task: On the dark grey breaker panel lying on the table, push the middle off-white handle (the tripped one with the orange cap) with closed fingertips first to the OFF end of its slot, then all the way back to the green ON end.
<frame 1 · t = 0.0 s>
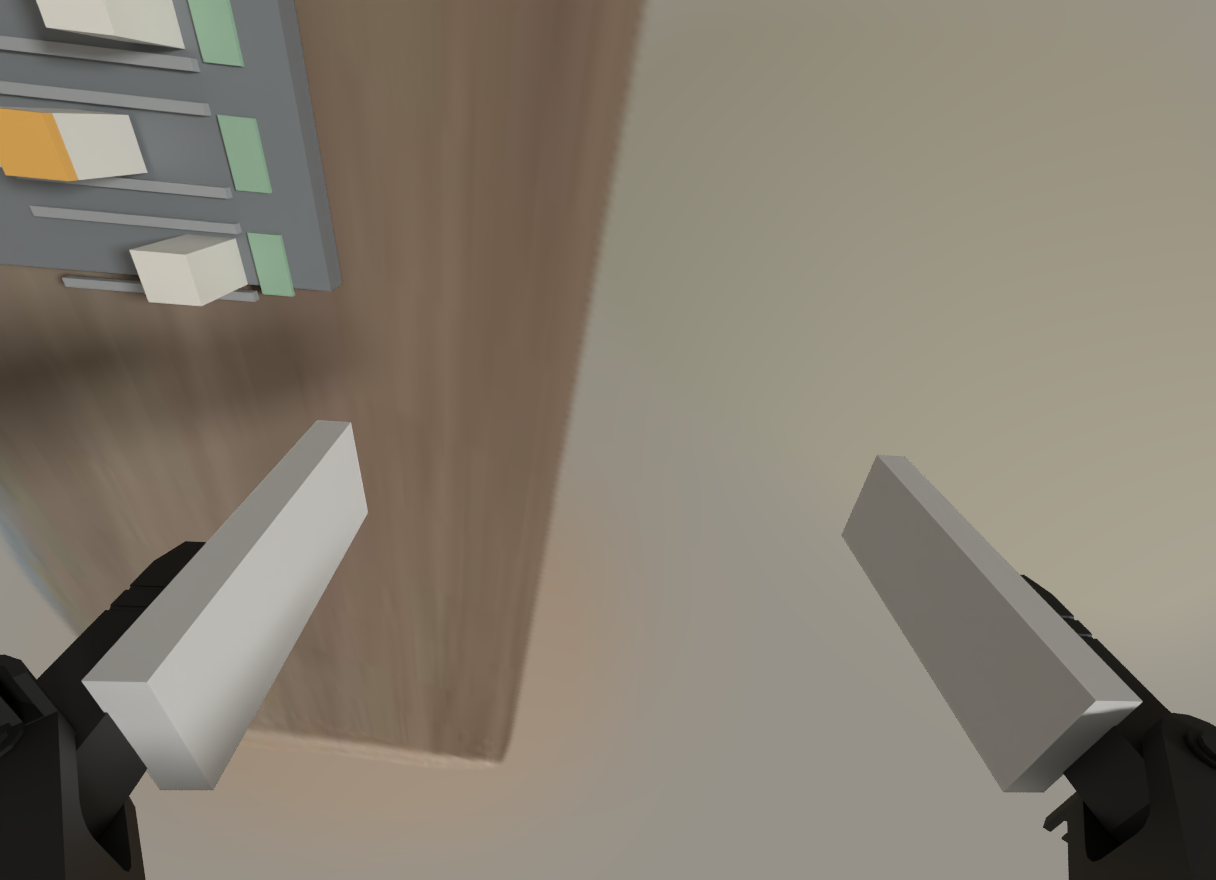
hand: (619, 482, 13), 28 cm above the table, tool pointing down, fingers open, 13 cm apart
breaker handle: (70, 143, 28), point 5 cm above the table, slide at 4.0 cm
panel: (139, 140, 32), on the table
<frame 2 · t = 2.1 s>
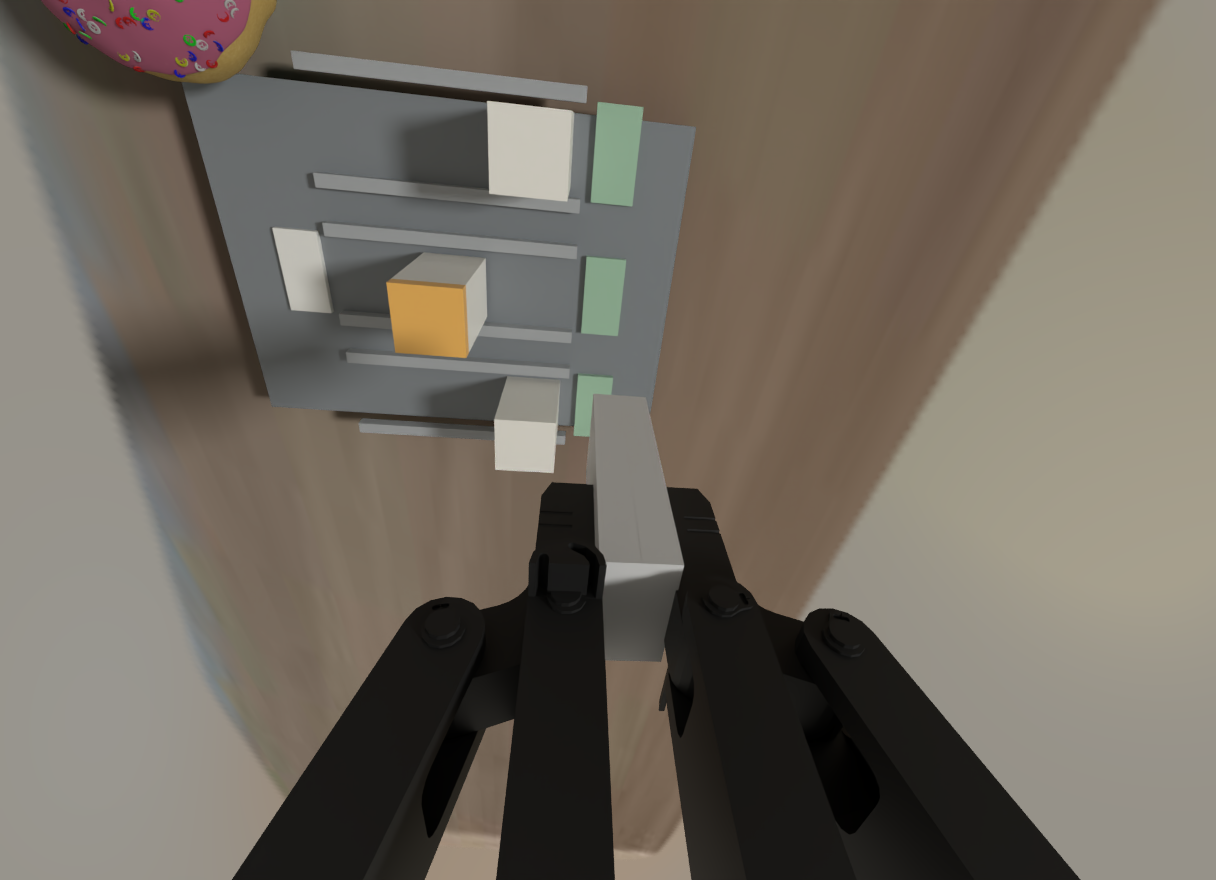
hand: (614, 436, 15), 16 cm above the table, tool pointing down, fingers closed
breaker handle: (443, 301, 24), point 5 cm above the table, slide at 4.0 cm
panel: (465, 274, 28), on the table
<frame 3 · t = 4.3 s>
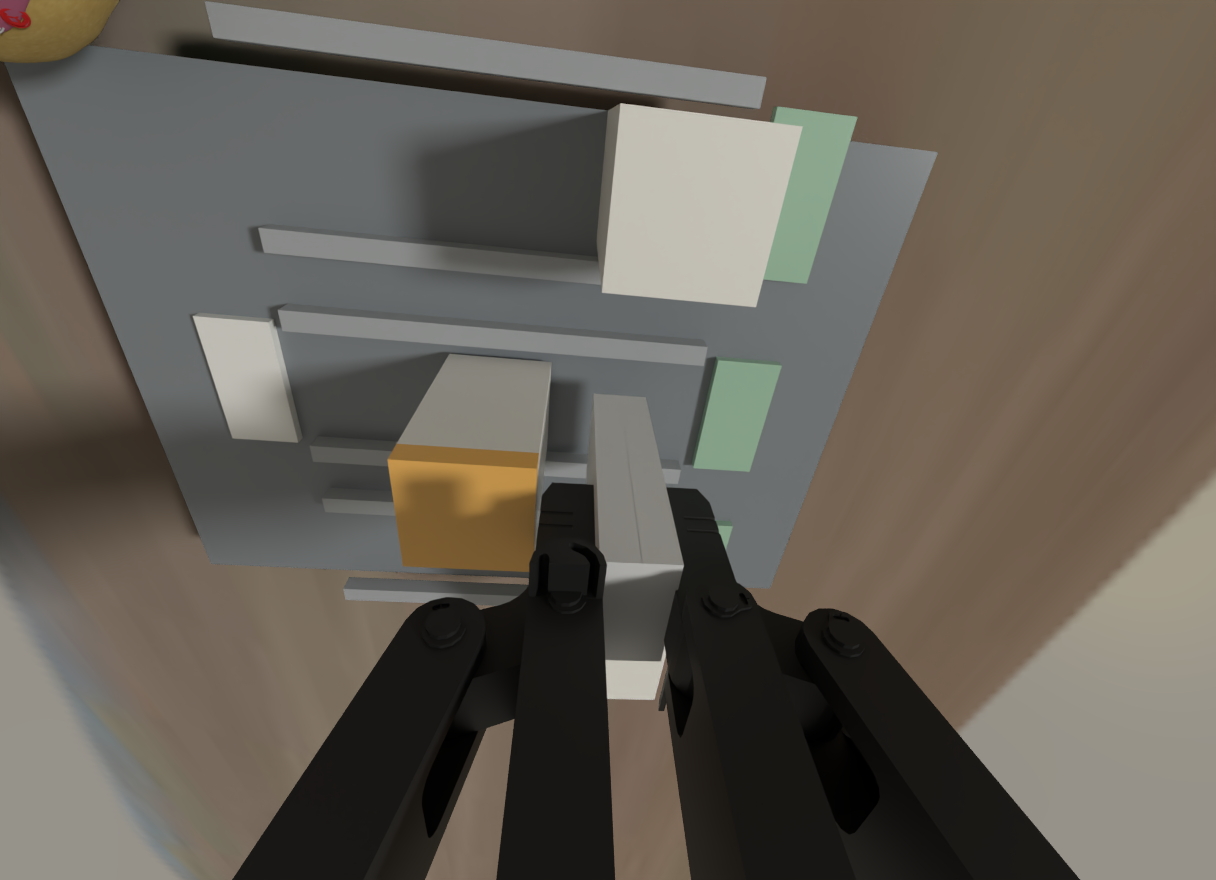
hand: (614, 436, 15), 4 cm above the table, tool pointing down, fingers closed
breaker handle: (486, 451, 14), point 5 cm above the table, slide at 4.0 cm, touching gripper
panel: (511, 372, 18), on the table
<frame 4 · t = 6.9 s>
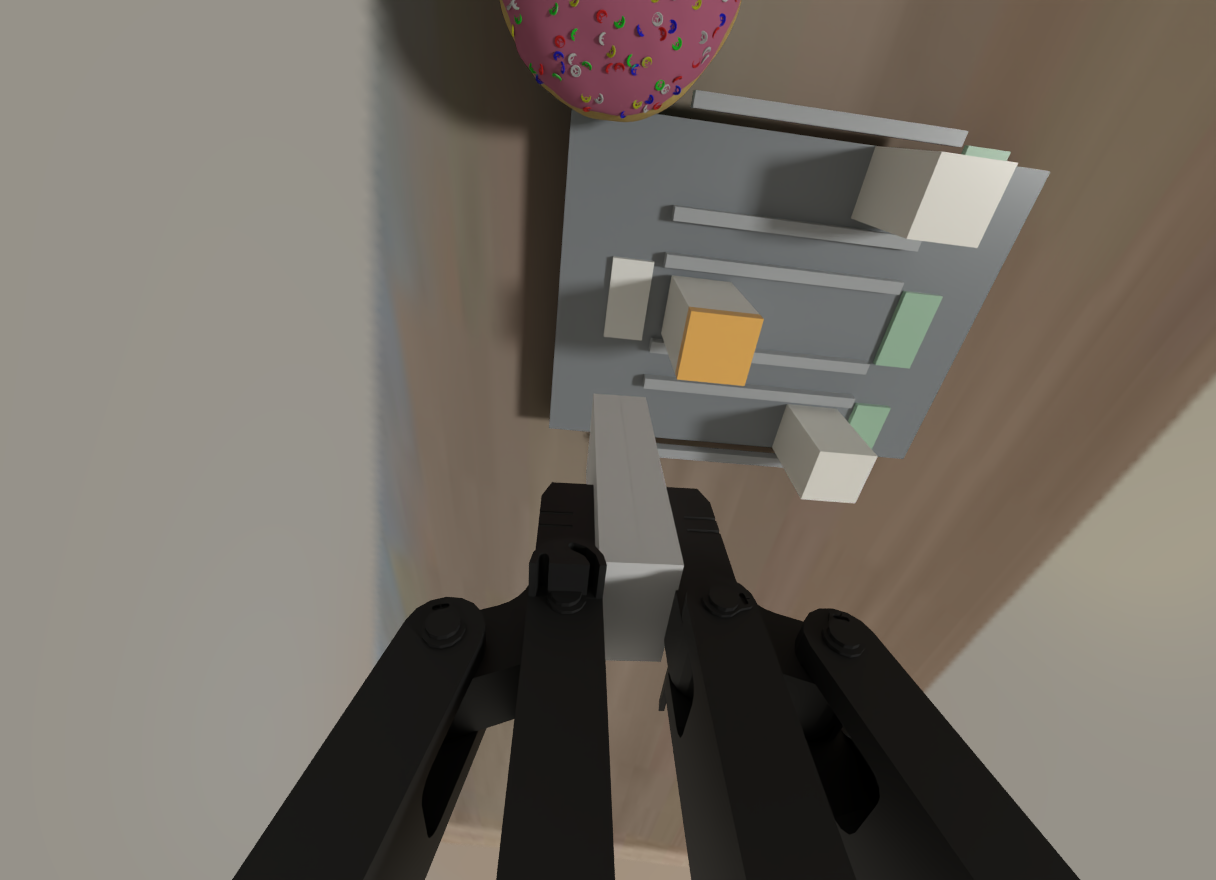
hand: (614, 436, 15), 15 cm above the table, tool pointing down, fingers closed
breaker handle: (705, 327, 24), point 5 cm above the table, slide at 0.0 cm
cupcake: (614, 0, 21), on the table
panel: (759, 303, 28), on the table
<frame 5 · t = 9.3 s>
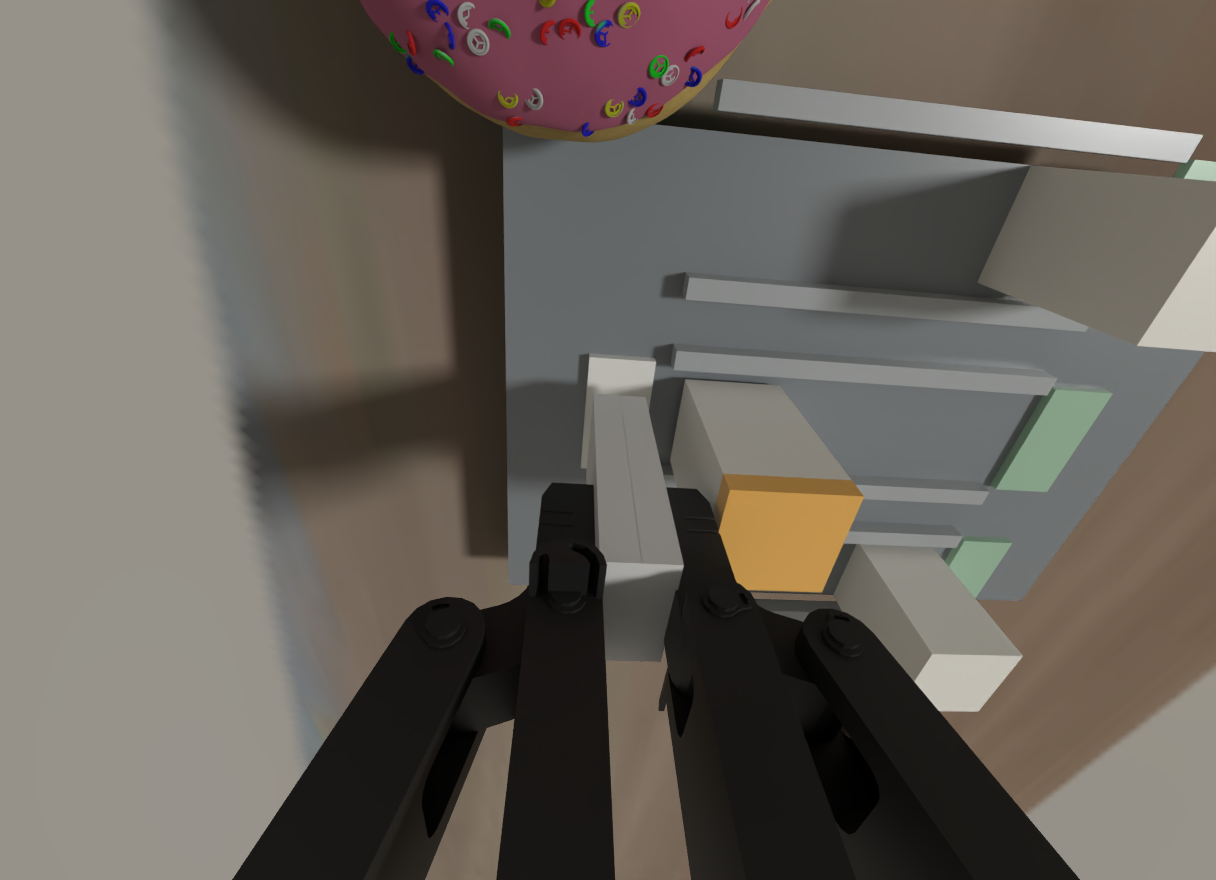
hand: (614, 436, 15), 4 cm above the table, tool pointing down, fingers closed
breaker handle: (746, 474, 14), point 5 cm above the table, slide at 0.0 cm, touching gripper
panel: (814, 399, 19), on the table
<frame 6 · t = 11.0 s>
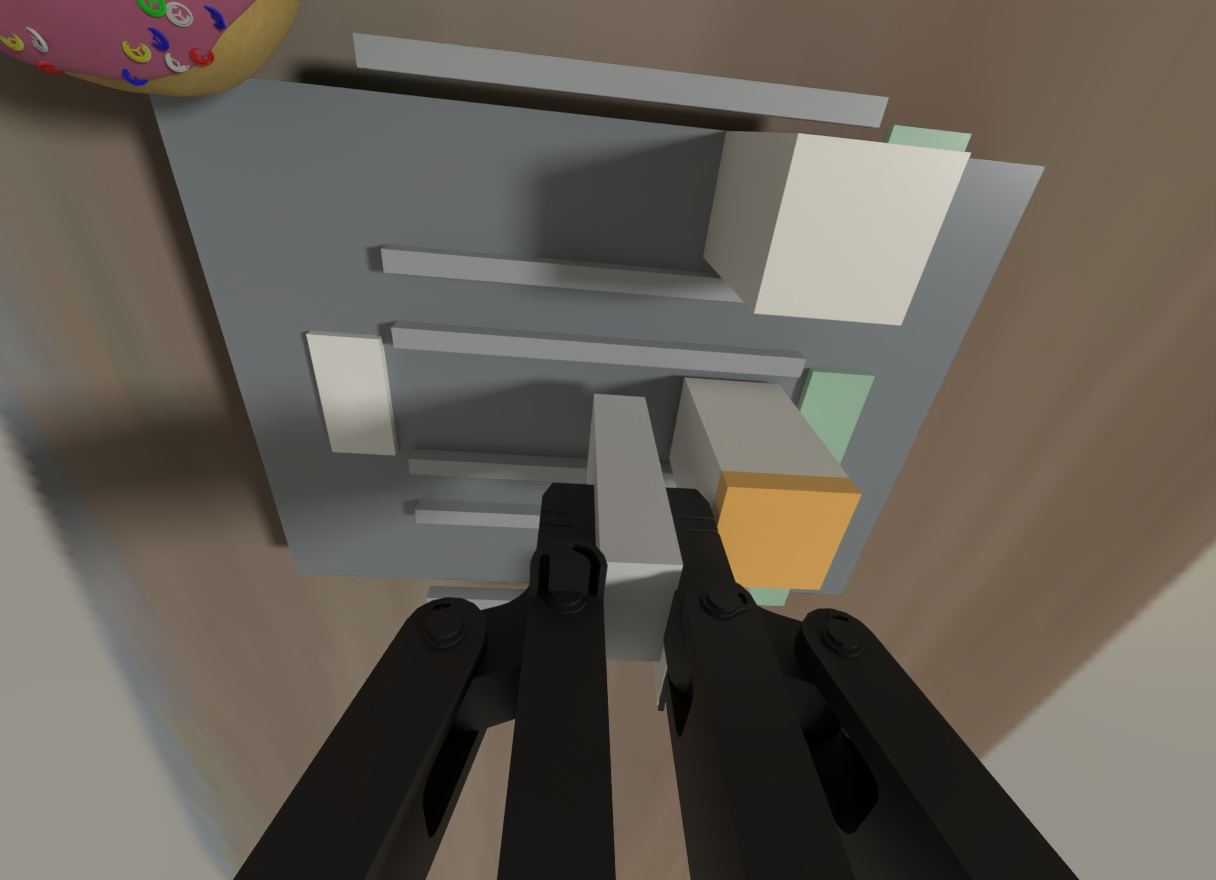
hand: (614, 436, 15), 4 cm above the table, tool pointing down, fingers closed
breaker handle: (744, 472, 14), point 5 cm above the table, slide at 8.0 cm, touching gripper
panel: (596, 383, 18), on the table
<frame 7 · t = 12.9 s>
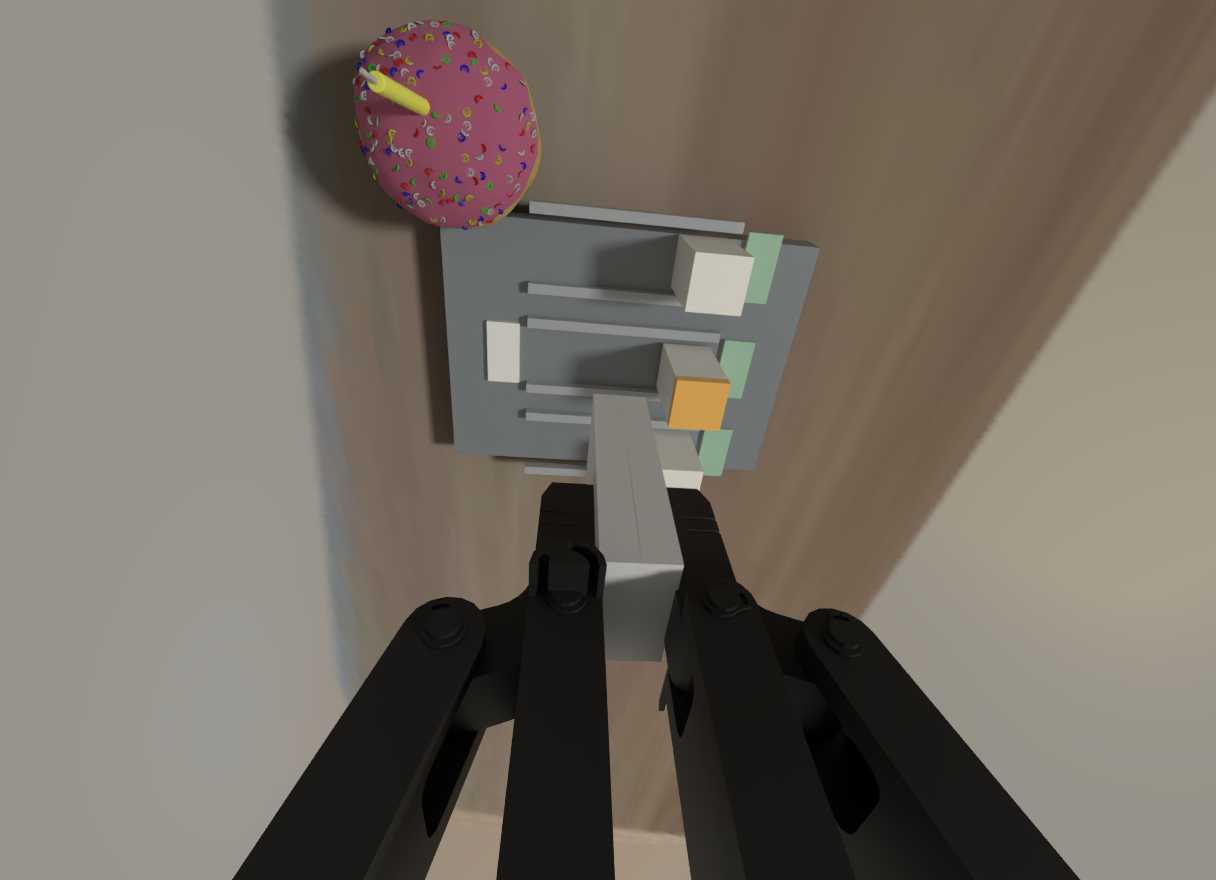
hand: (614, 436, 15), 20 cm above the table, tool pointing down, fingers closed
breaker handle: (689, 385, 31), point 5 cm above the table, slide at 8.0 cm
cupcake: (469, 132, 28), on the table
panel: (618, 348, 35), on the table
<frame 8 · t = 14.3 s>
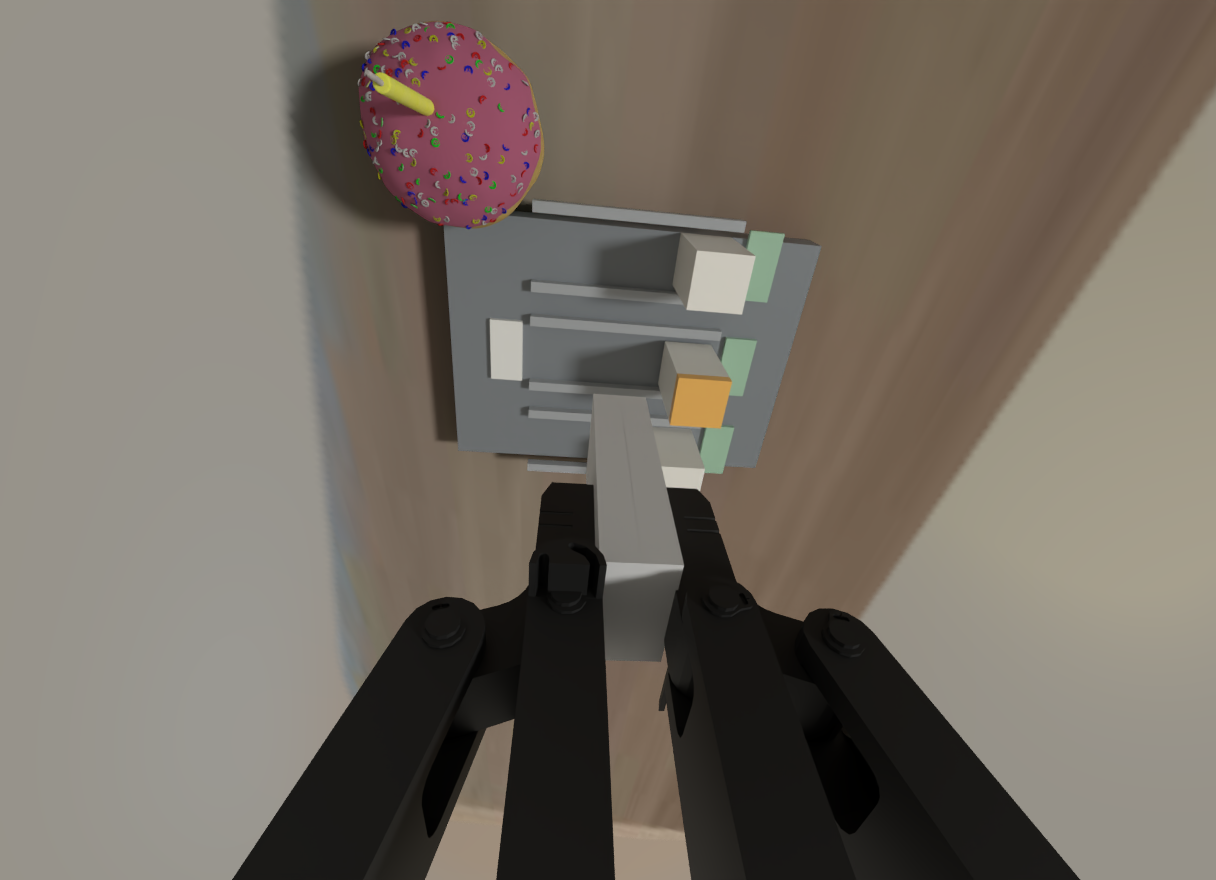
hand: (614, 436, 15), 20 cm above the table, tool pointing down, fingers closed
breaker handle: (691, 382, 31), point 5 cm above the table, slide at 8.0 cm
cupcake: (472, 132, 28), on the table
panel: (620, 346, 35), on the table
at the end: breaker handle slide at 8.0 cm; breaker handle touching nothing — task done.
